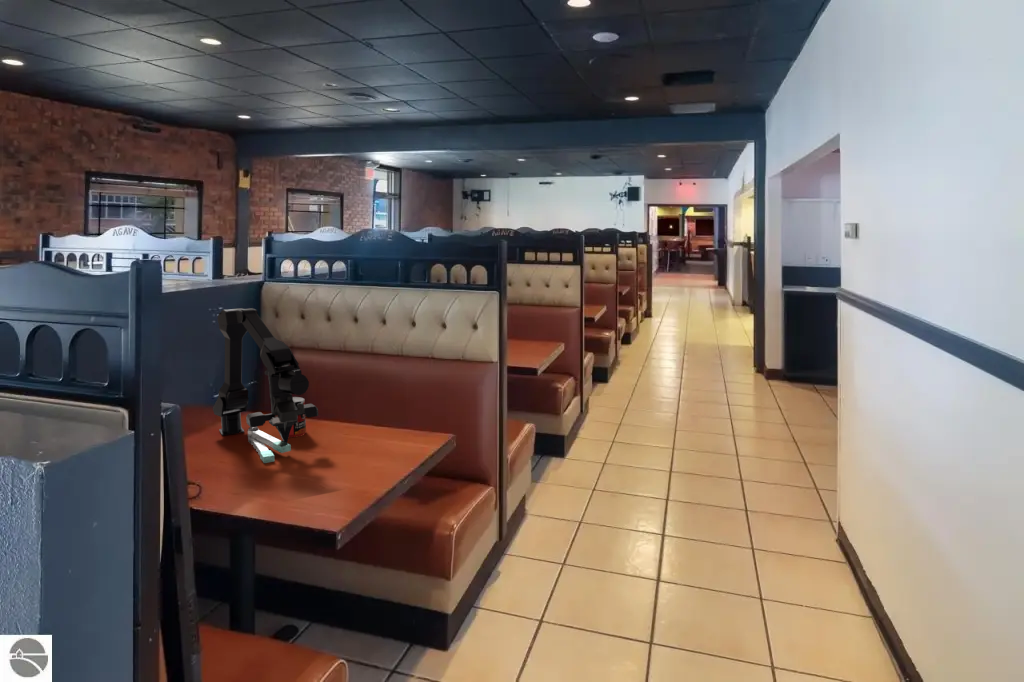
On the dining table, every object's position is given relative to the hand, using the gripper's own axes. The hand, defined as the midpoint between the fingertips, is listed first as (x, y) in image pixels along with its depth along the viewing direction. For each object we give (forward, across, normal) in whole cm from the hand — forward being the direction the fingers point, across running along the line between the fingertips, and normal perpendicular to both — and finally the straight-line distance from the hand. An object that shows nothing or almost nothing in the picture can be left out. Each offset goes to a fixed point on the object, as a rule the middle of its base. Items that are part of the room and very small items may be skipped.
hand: (285, 444), depth 183 cm
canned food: (+2, +6, +17) cm, 18 cm away
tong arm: (0, -4, +6) cm, 7 cm away
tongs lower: (+2, -6, +6) cm, 8 cm away
